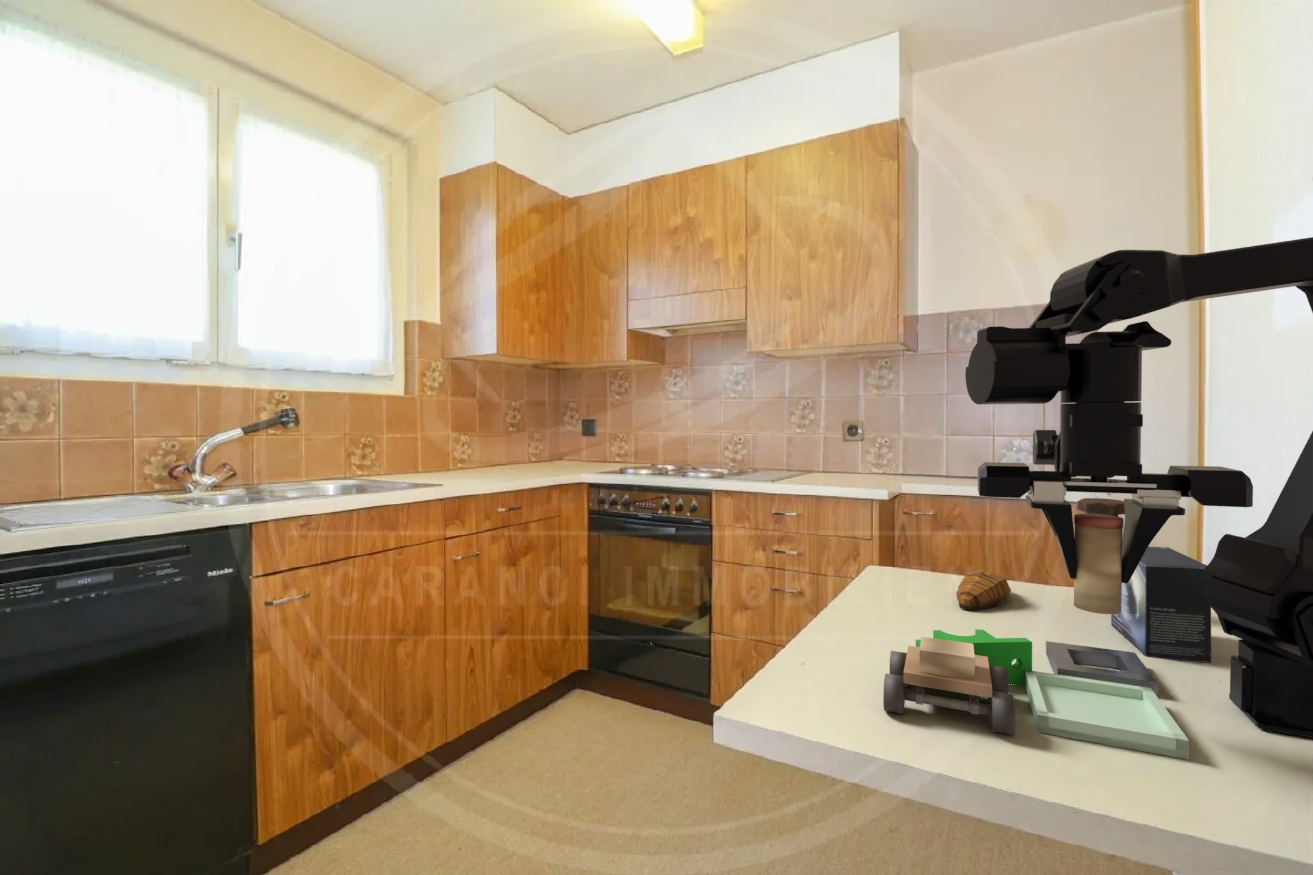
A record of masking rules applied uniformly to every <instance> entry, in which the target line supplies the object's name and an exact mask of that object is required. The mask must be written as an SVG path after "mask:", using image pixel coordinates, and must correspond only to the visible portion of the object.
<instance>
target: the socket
mask: <svg viewBox="0 0 1313 875" xmlns="http://www.w3.org/2000/svg"><path fill="white" fill-rule="evenodd" d="M1045 654H1046V657H1047V659H1048V662H1049V665H1050V667H1051V669H1052V672H1053V674H1058V675H1064V676H1071V677H1078V678H1085V679H1092V680H1099V681H1106V682H1112V683H1119V684H1126V685H1133V686H1140V687H1147V688H1151V689H1152V690H1153V692H1154V693H1155V695H1156V696H1157V697H1159V696H1158V695H1159V694H1158V693H1159V692H1158V690H1159V689H1158V688H1159V687H1158V686H1159V684H1158V681H1157V679H1155V677H1154V675H1153V674H1152V673H1151V671H1150V670H1149V669H1148V668H1147V667H1146V665H1145V664H1144V662H1143V661H1142V660H1141V659H1140V657H1139V656H1138V655H1137V654H1136V652H1134V651H1127V650H1118V649H1110V648H1101V647H1095V646H1089V645H1087V646H1086V645H1079V644H1071V643H1063V642H1055V641H1045ZM1075 663H1076V664H1075ZM1079 664H1082V665H1079ZM1087 665H1089V666H1087ZM1094 666H1095V667H1094ZM1101 667H1104V668H1101ZM1109 668H1111V669H1109ZM1115 669H1117V670H1115Z"/></svg>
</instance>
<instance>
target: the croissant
mask: <svg viewBox="0 0 1313 875" xmlns="http://www.w3.org/2000/svg"><path fill="white" fill-rule="evenodd" d="M957 588H958V589H957V590H956V592H955V594H956V600H957V601H958V605H959V608H960V609H962V610H968V611H969V610H970V611H971V610H977V611H978V610H983V609H987V608H989V607H993V606H996V605H1000V604H999V603H1001V604H1002V603H1003V602H1004V601H1005V599H1006V598H1007V597H1008V596H1009V595H1010V594H1011V592H1012V589H1011V587H1010V586H1009V582H1008V581H1007V578H1005V577H1003V576H1000V575H998V574H995V573H993V572H990V571H989V570H987V569H986V568H981V569H978V570H975V571H971V572H968V573H967V574H965V576H964V577H963V578H962V580H961V581H960V583H959V585H958V587H957Z"/></svg>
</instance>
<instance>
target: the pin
mask: <svg viewBox="0 0 1313 875" xmlns="http://www.w3.org/2000/svg"><path fill="white" fill-rule="evenodd" d="M1073 516H1074V517H1073V525H1074V538H1075V548H1076V558H1077V571H1076V579H1073V606H1074V607H1075V608H1077V609H1079V610H1082V611H1085V612H1088V613H1094V614H1101V615H1111V614H1119V613H1121V604H1122V538H1123V531H1124V518H1123V517H1121V516H1118V517H1117V516H1111V515H1103V514H1087V513H1076V514H1073Z"/></svg>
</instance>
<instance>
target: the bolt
mask: <svg viewBox="0 0 1313 875" xmlns="http://www.w3.org/2000/svg"><path fill="white" fill-rule="evenodd" d="M1076 503H1077V506H1076V507H1077V508H1076V509H1077V510H1078V511H1080V512H1083V513H1084V514H1103V515H1111V516H1117V517H1119V515H1125V508H1124V500H1121V499H1113V498H1112V499H1111V498H1102V497H1101V498H1098V497H1092V498H1091V497H1089V498H1088V497H1084V498H1081V499H1079V500H1078V501H1077V502H1076Z"/></svg>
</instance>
